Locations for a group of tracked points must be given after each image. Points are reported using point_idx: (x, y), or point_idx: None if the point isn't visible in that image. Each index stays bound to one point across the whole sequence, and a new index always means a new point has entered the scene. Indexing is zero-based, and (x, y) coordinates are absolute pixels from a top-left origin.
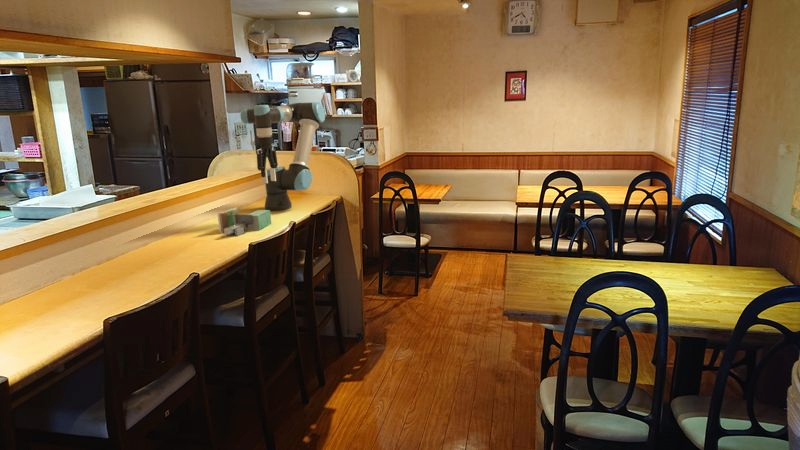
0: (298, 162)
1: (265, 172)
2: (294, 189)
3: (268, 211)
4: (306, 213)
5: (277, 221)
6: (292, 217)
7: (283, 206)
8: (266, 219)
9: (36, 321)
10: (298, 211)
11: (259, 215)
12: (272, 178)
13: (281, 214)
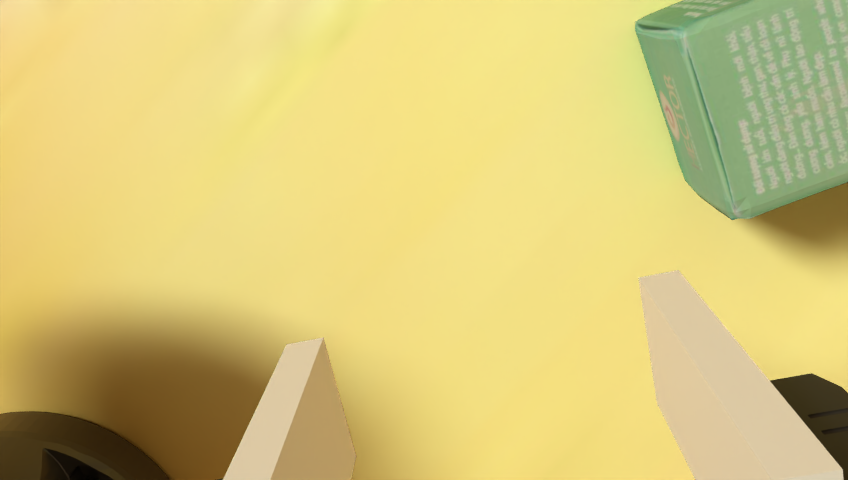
0: None
1: (803, 442)
2: None
3: (729, 7)
4: (43, 23)
5: (514, 45)
6: (281, 28)
7: (63, 439)
8: None
9: None
10: (33, 203)
11: None
12: (333, 445)
13: (244, 275)
